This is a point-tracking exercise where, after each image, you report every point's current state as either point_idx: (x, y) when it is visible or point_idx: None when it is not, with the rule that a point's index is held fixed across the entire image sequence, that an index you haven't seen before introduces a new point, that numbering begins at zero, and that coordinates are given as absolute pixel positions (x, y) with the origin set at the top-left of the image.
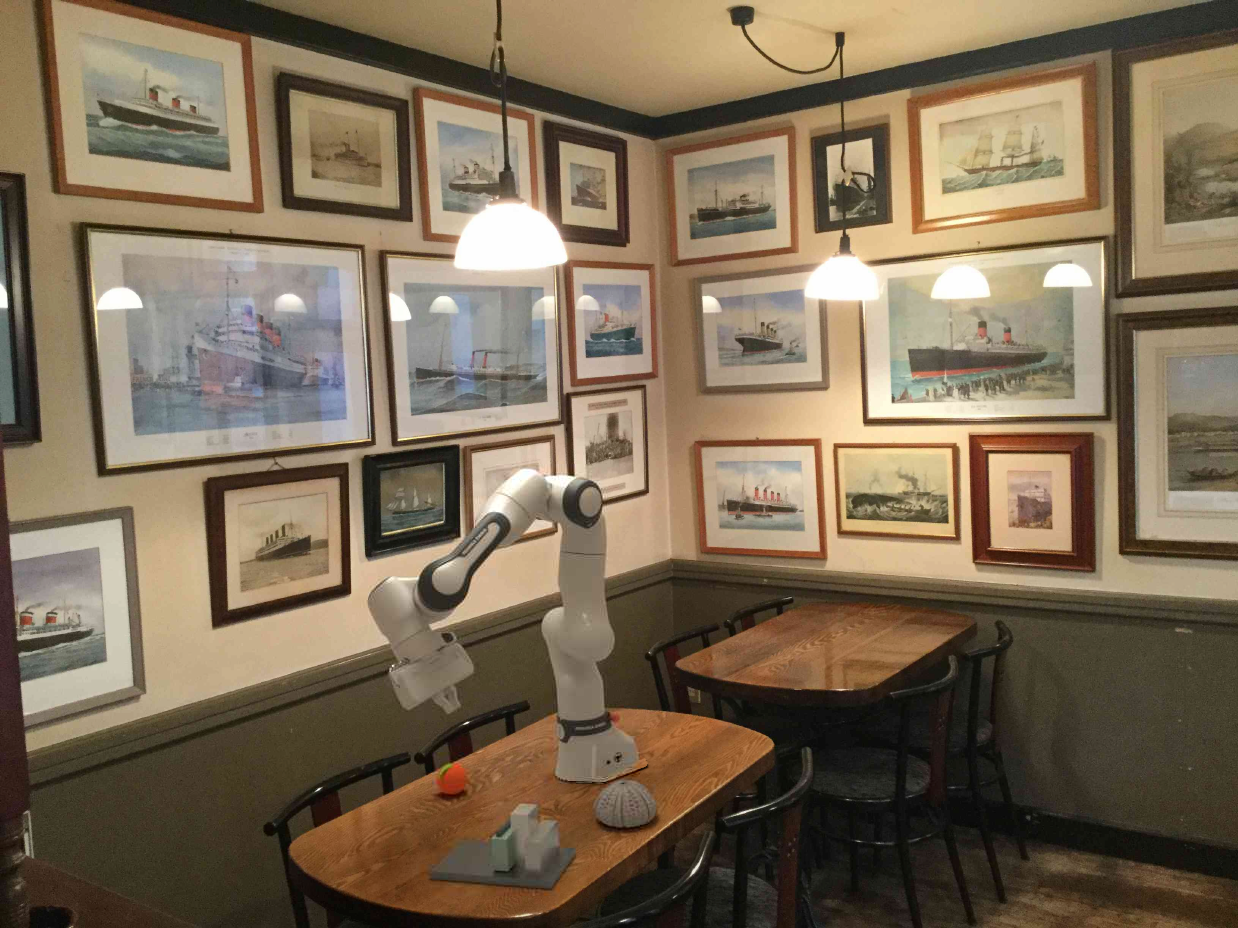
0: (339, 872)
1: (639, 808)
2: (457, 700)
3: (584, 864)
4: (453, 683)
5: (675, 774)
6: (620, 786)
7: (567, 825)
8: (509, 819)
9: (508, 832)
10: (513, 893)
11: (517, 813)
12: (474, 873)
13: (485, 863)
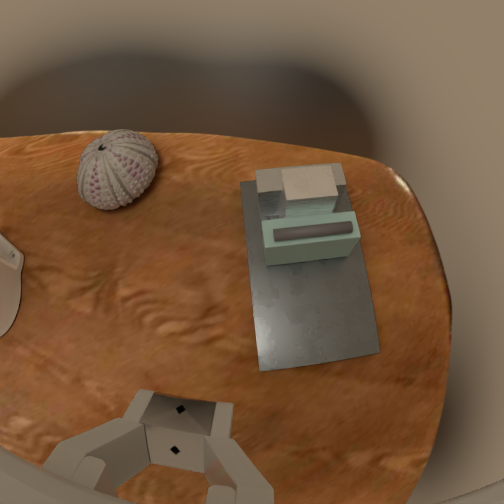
0: (389, 490)
1: (139, 134)
2: (135, 409)
3: (263, 167)
4: (44, 468)
5: (11, 186)
6: (112, 147)
7: (148, 241)
8: (302, 228)
9: (328, 220)
10: (368, 215)
11: (330, 184)
12: (363, 280)
13: (330, 281)
